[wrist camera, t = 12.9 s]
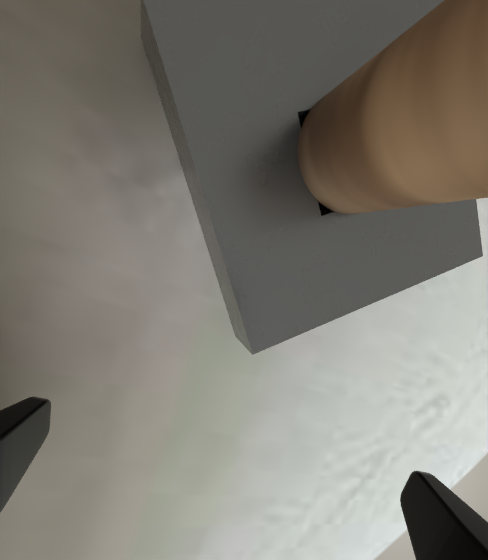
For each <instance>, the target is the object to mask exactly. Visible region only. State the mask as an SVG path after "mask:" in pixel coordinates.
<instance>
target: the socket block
mask: <svg viewBox="0 0 488 560" xmlns="http://www.w3.org/2000/svg"><path fill="white" fill-rule="evenodd" d="M443 1H444V0H141V38H142V41H143V45H144V48H145V51H146V54H147V57H148V60H149V64H150V67H151V70H152V73H153V76H154V79H155V83H156V86H157V89H158V92H159V95H160V98H161V102H162V105H163V108H164V111H165V114H166V117H167V121H168V124H169V127H170V130H171V133H172V136H173V140H174V143H175V146H176V149H177V152H178V155H179V159H180V162H181V165H182V168H183V171H184V174H185V177H186V181H187V184H188V187H189V190H190V193H191V196H192V200H193V203H194V206H195V209H196V212H197V215H198V219H199V222H200V225H201V228H202V231H203V234H204V238H205V241H206V244H207V247H208V250H209V253H210V257H211V260H212V263H213V266H214V269H215V272H216V276H217V279H218V282H219V285H220V288H221V291H222V295H223V298H224V301H225V304H226V307H227V310H228V314H229V317H230V320H231V323H232V326H233V329H234V333H235V336H236V337H237V339H238V340H239V341H240V342H241V343H242V344H243V345H244V346H245V347H246V348H247V349H248V350H249V351H250V352H251V353H252V355H253V354H255V353H258V352H260V351H262V350H265V349H267V348H269V347H272V346H274V345H276V344H279V343H281V342H283V341H286V340H288V339H290V338H293V337H295V336H297V335H300V334H302V333H304V332H307V331H309V330H311V329H314V328H316V327H318V326H321V325H323V324H325V323H328V322H330V321H332V320H335V319H337V318H339V317H342V316H344V315H346V314H349V313H351V312H353V311H356V310H358V309H360V308H363V307H365V306H367V305H370V304H372V303H374V302H377V301H379V300H381V299H384V298H386V297H388V296H391V295H393V294H395V293H398V292H400V291H402V290H405V289H407V288H409V287H412V286H414V285H416V284H419V283H421V282H423V281H426V280H428V279H430V278H433V277H435V276H437V275H440V274H442V273H444V272H447V271H449V270H451V269H454V268H456V267H458V266H461V265H463V264H465V263H468V262H470V261H472V260H475V259H477V258H479V257H482V256H483V253H482V245H481V237H480V228H479V220H478V211H477V203H476V199H471V200H463V201H455V202H447V203H439V204H431V205H423V206H415V207H407V208H398V209H390V210H382V211H374V212H366V213H358V214H342V213H338V212H335V211H332V210H330V209H326V210H323V211H320V208H319V204H318V200H317V199H316V198H315V197H314V196H313V195H312V193H311V192H310V191H309V189H308V187H307V186H306V184H305V182H304V179H303V177H302V174H301V170H300V167H299V161H298V140H299V134H300V131H301V126H302V124H303V122H304V120H305V118H306V116H307V114H308V113H309V111H310V110H311V109H312V107H313V106H314V105H315V104H316V103H317V102H318V101H319V100H320V99H322V98H323V97H324V96H325V95H327V94H328V93H329V92H330V91H332V90H333V89H334V88H335V87H337V86H338V85H339V84H340V83H342V82H343V81H344V80H345V79H347V78H348V77H349V76H350V75H352V74H353V73H354V72H355V71H357V70H358V69H359V68H360V67H362V66H363V65H364V64H365V63H367V62H368V61H369V60H370V59H372V58H373V57H374V56H375V55H377V54H378V53H379V52H380V51H382V50H383V49H384V48H385V47H387V46H388V45H389V44H390V43H392V42H393V41H394V40H395V39H397V38H398V37H399V36H400V35H402V34H403V33H404V32H405V31H407V30H408V29H409V28H410V27H412V26H413V25H414V24H415V23H417V22H418V21H419V20H420V19H422V18H423V17H424V16H425V15H427V14H428V13H429V12H430V11H432V10H433V9H434V8H435V7H437V6H438V5H439V4H440V3H442V2H443Z"/></svg>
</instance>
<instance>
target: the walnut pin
mask: <svg viewBox="0 0 488 560" xmlns="http://www.w3.org/2000/svg"><path fill="white" fill-rule="evenodd" d="M298 161H299V167H300V170H301V174H302V177H303V179H304V182H305V184H306V186H307V187H308V189H309V191H310V192H311V193H312V195H313V196H314V197H315V198H316V199H317V200H318V201H319V202H320V203H321V204H322V205H324V206H325V207H327V208H328V209H330V210H332V211H335V212H338V213H342V214H358V213H366V212H374V211H382V210H390V209H398V208H407V207H415V206H423V205H431V204H439V203H447V202H455V201H463V200H471V199H479V198H488V0H444V1H443V2H442V3H440V4H439V5H438V6H437V7H435V8H434V9H433V10H432V11H430V12H429V13H428V14H427V15H425V16H424V17H423V18H422V19H420V20H419V21H418V22H417V23H415V24H414V25H413V26H412V27H410V28H409V29H408V30H407V31H405V32H404V33H403V34H402V35H400V36H399V37H398V38H397V39H395V40H394V41H393V42H392V43H390V44H389V45H388V46H387V47H385V48H384V49H383V50H382V51H380V52H379V53H378V54H377V55H375V56H374V57H373V58H372V59H370V60H369V61H368V62H367V63H365V64H364V65H363V66H362V67H360V68H359V69H358V70H357V71H355V72H354V73H353V74H352V75H350V76H349V77H348V78H347V79H345V80H344V81H343V82H342V83H340V84H339V85H338V86H337V87H335V88H334V89H333V90H332V91H330V92H329V93H328V94H327V95H325V96H324V97H323V98H322V99H320V100H319V101H318V102H317V103H316V104H315V105H314V106H313V107H312V109H311V110H310V111H309V113H308V114H307V116H306V118H305V120H304V122H303V124H302V127H301V131H300V134H299V140H298Z"/></svg>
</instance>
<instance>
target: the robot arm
mask: <svg viewBox="0 0 488 560" xmlns="http://www.w3.org/2000/svg"><path fill="white" fill-rule="evenodd" d="M50 413H51V402H50V401H49V400H48V399H44V398H39V397H29V398H27V399H25V400H22V401H20V402H18V403H16V404H13V405H11V406H9V407H7V408H5V409H2V410H0V512H1V511H2V509H3V508H4V506H5V505H6V503H7V501H8V500H9V498H10V497H11V495H12V493H13V492H14V490H15V488H16V487H17V485H18V484H19V482H20V480H21V479H22V477H23V475H24V474H25V472H26V470H27V469H28V467H29V465H30V464H31V462H32V460H33V459H34V457H35V455H36V454H37V452H38V450H39V449H40V447H41V445H42V444H43V442H44V440H45V439H46V437H47V435H48V432H49V428H50ZM400 501H401V507H402V511H403V514H404V518H405V522H406V525H407V529H408V532H409V536H410V539H411V543H412V546H413V550H414V554H415V557H416V560H488V522H487V521H485V520H484V519H483V518H482V517H481V516H480V515H478V514H477V513H476V512H475V511H474V510H473V509H472V508H471V507H469V506H468V505H467V504H466V503H465V502H463V501H462V500H461V499H460V498H459V497H458V496H457V495H455V494H454V493H453V492H452V491H451V490H450V489H448V488H447V487H446V486H445V485H444V484H443V483H441V482H440V481H439V480H438V479H437V478H436V477H435V476H433V475H432V474H430V473H426V472H420V471H414V472H412V473H411V475H410V477H409V479H408V481H407V483H406V485H405V487H404V489H403V491H402V493H401V498H400Z"/></svg>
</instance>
